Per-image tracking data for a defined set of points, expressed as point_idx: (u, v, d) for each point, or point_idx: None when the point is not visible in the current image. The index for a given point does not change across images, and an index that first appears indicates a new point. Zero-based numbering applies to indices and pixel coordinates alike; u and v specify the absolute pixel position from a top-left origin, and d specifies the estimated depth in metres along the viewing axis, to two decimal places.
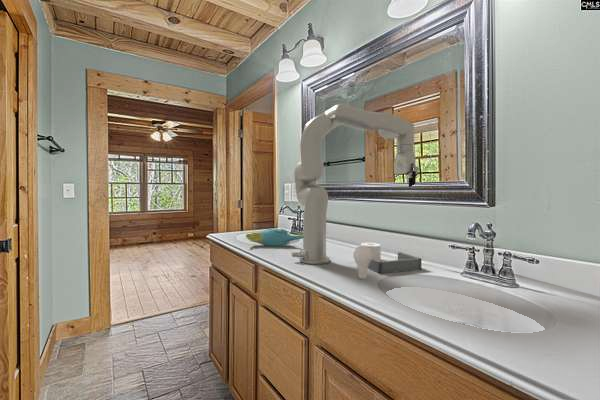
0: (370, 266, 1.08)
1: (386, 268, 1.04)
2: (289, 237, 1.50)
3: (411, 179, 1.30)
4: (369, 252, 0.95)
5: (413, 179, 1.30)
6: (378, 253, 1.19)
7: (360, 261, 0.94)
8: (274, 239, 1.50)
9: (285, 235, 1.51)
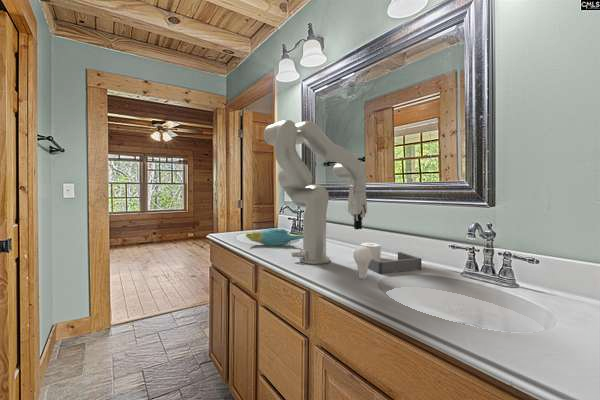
0: (370, 266, 1.08)
1: (386, 268, 1.04)
2: (289, 237, 1.50)
3: (357, 222, 1.35)
4: (369, 252, 0.95)
5: (359, 222, 1.35)
6: (378, 253, 1.19)
7: (360, 261, 0.94)
8: (274, 238, 1.51)
9: (285, 235, 1.51)
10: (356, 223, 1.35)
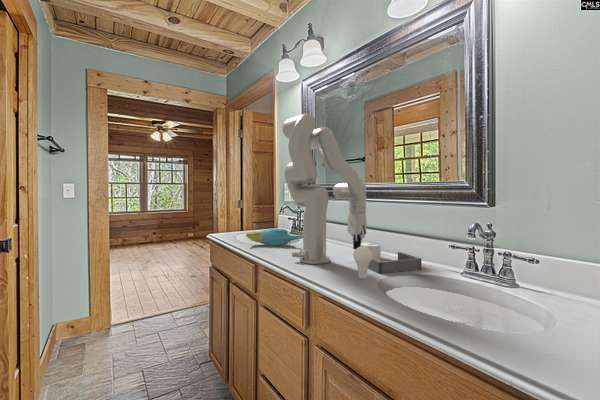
0: (370, 266, 1.08)
1: (386, 268, 1.04)
2: (289, 237, 1.51)
3: (356, 242, 1.34)
4: (369, 252, 0.95)
5: (358, 242, 1.34)
6: (378, 253, 1.19)
7: (360, 261, 0.94)
8: (274, 238, 1.51)
9: (285, 235, 1.51)
10: (355, 243, 1.34)
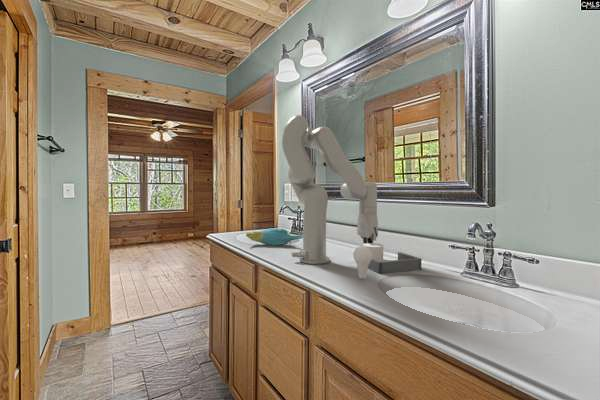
0: (370, 266, 1.08)
1: (386, 268, 1.04)
2: (288, 237, 1.51)
3: None
4: (369, 252, 0.95)
5: None
6: (380, 254, 1.17)
7: (360, 261, 0.94)
8: (274, 238, 1.52)
9: (285, 235, 1.52)
10: None
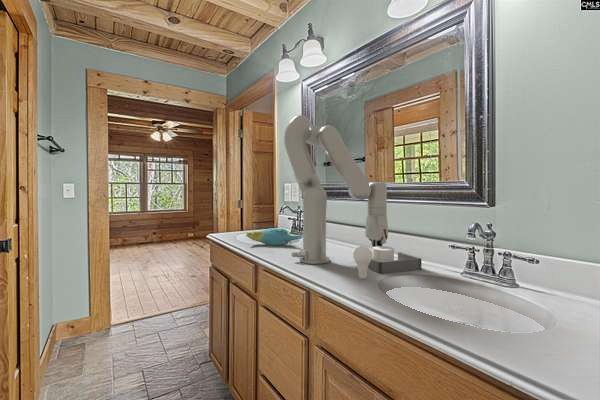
0: (370, 266, 1.08)
1: (386, 268, 1.04)
2: (288, 237, 1.51)
3: None
4: (369, 252, 0.95)
5: None
6: (391, 258, 1.11)
7: (360, 261, 0.94)
8: (274, 238, 1.52)
9: (285, 235, 1.52)
10: None
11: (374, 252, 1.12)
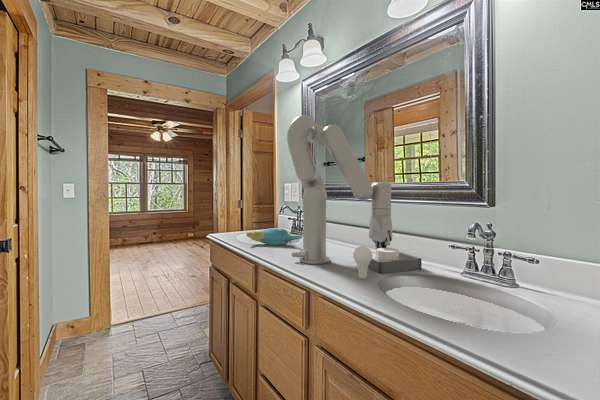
0: (370, 266, 1.08)
1: (386, 268, 1.04)
2: (288, 237, 1.51)
3: None
4: (369, 252, 0.95)
5: None
6: None
7: (360, 261, 0.94)
8: (274, 238, 1.52)
9: (285, 235, 1.52)
10: None
11: (379, 254, 1.09)
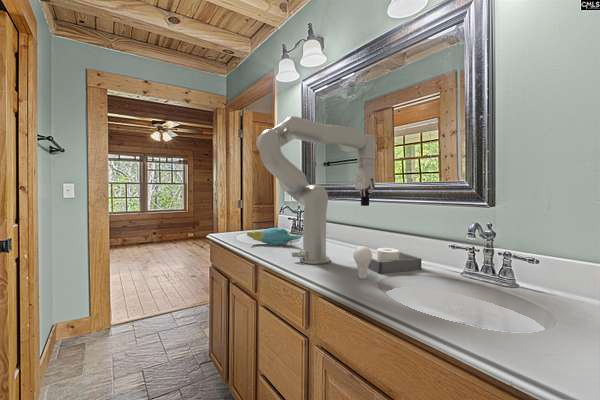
0: (370, 266, 1.08)
1: (386, 268, 1.04)
2: (288, 237, 1.51)
3: (364, 198, 1.26)
4: (369, 252, 0.95)
5: (366, 198, 1.26)
6: None
7: (360, 261, 0.94)
8: (274, 238, 1.53)
9: (284, 235, 1.52)
10: (363, 199, 1.27)
11: (379, 254, 1.09)
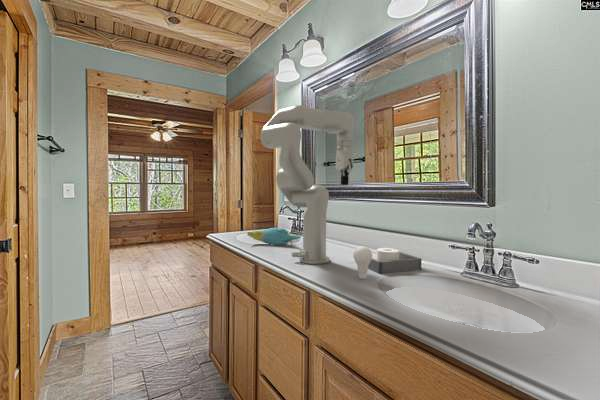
0: (370, 266, 1.08)
1: (386, 268, 1.04)
2: (288, 237, 1.51)
3: (344, 177, 1.37)
4: (369, 252, 0.95)
5: (346, 177, 1.37)
6: None
7: (360, 261, 0.94)
8: (274, 238, 1.54)
9: (284, 234, 1.53)
10: (343, 178, 1.37)
11: (379, 254, 1.09)
